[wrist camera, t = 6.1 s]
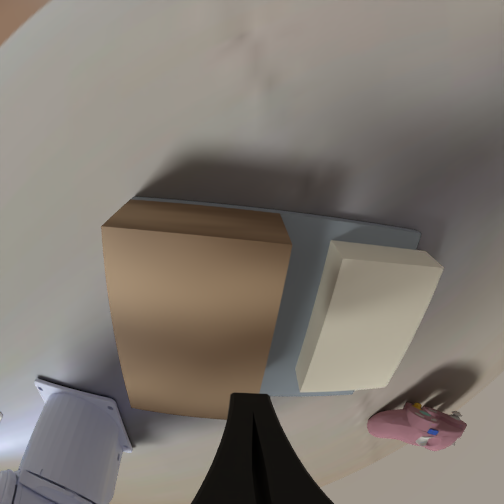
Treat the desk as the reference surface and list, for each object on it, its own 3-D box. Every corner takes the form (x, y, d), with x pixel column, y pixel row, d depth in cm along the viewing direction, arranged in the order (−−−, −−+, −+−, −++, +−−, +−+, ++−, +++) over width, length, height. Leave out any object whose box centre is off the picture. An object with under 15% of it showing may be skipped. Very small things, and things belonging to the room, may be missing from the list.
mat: (350, 389, 21) (352, 394, 20) (147, 379, 19) (146, 384, 19) (417, 230, 15) (421, 233, 15) (133, 196, 14) (130, 199, 13)
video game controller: (436, 398, 26) (481, 421, 19) (416, 433, 25) (458, 460, 19) (382, 384, 23) (436, 416, 17) (358, 427, 23) (405, 466, 16)
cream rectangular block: (299, 392, 17) (295, 368, 19) (385, 387, 17) (376, 366, 19) (343, 258, 13) (330, 240, 15) (443, 267, 13) (425, 251, 15)
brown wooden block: (249, 371, 19) (252, 420, 16) (144, 361, 18) (131, 407, 15) (278, 209, 14) (292, 244, 11) (133, 196, 14) (101, 226, 10)
